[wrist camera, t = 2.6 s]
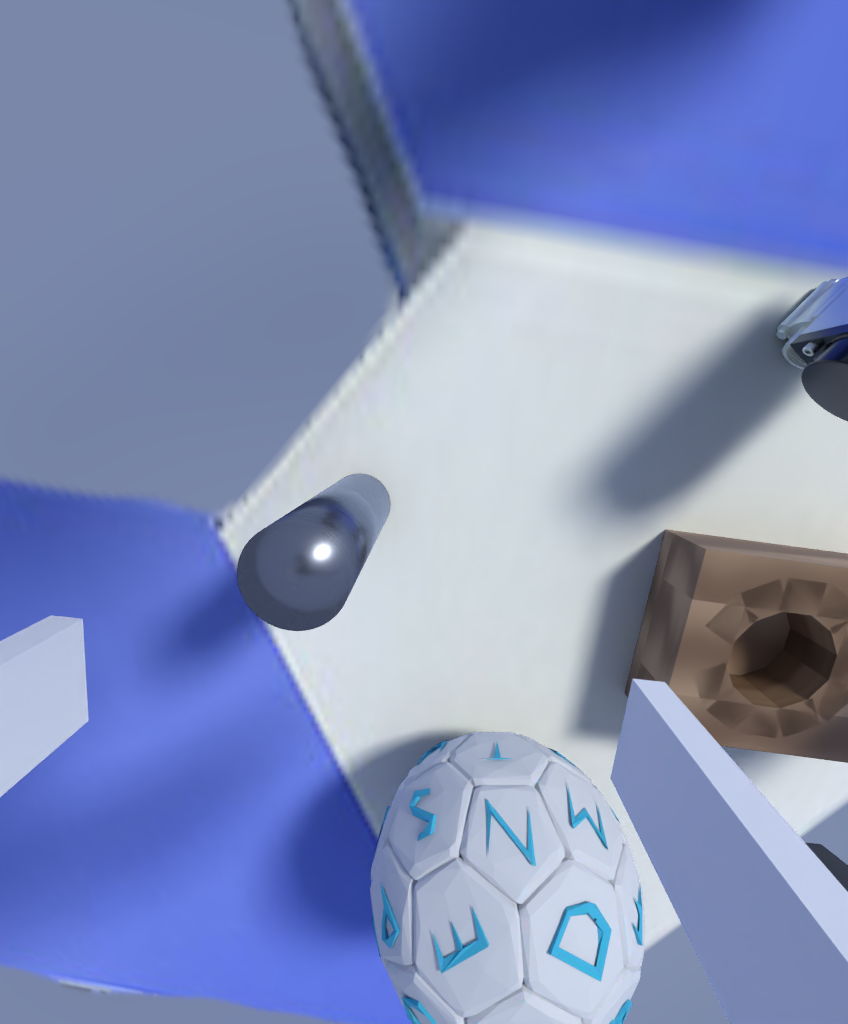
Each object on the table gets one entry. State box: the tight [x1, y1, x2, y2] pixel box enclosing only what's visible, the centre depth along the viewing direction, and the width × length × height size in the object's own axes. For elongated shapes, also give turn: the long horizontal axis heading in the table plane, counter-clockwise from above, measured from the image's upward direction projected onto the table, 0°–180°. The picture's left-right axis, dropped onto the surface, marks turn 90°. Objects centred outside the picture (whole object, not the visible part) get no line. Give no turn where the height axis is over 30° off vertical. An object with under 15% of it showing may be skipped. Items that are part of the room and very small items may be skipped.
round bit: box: [237, 474, 390, 631], centre depth 23 cm, size 4×4×14 cm
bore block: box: [625, 530, 848, 763], centre depth 28 cm, size 12×12×4 cm
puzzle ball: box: [370, 732, 645, 1024], centre depth 26 cm, size 15×15×15 cm
